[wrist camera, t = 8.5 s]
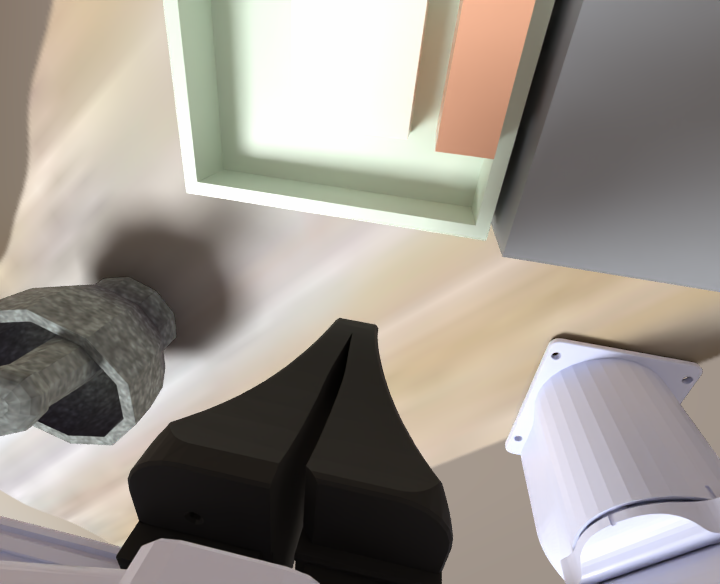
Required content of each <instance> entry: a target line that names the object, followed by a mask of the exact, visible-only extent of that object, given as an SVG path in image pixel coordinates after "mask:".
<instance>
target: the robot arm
mask: <svg viewBox="0 0 720 584" xmlns="http://www.w3.org/2000/svg"><path fill="white" fill-rule="evenodd" d="M377 335H378V327H377V326H376V325H374V324H369V323H364V322H358V321H353V320H347V319H342V318H339V319H337V320H336V321H335V322H334V323H333V324H332V325H331V327H330V328H329V329H328V330H327V331H326V332H325V333H324V334H323V335H322V336H321V337H320V338H319V339H318V340H317V341H316V342H315V343H314V344H312V345H311V346H310V347H309V348H308V349H307V350H306V351H305V352H304V353H302V354H301V355H300V356H299V357H297V358H296V359H295V360H294V361H292V362H291V363H290V364H289V365H287V366H286V367H285V368H283V369H282V370H281V371H279V372H278V373H276V374H275V375H273V376H272V377H270V378H269V379H267V380H266V381H264V382H262V383H261V384H259V385H257V386H255V387H254V388H252V389H250V390H248V391H247V392H245V393H243V394H241V395H239V396H237V397H235V398H233V399H231V400H228V401H226V402H224V403H222V404H219V405H217V406H215V407H212V408H210V409H207V410H205V411H202V412H199V413H196V414H193V415H191V416H188V417H185V418H182V419H179V420H176V421H173V422H170V423H169V425H168V426H167V427H166V428H165V429H164V430H163V431H162V432H161V433H160V434H159V435H158V436H157V438H156V439H155V440H154V441H153V442H152V443H151V445H150V446H149V447H148V449H147V450H146V451H145V453H144V454H143V455H142V457H141V458H140V459H139V460H138V462H137V463H136V464H135V466H134V467H133V468H132V470H131V471H130V474H129V477H128V484H129V491H130V494H131V497H132V500H133V503H134V506H135V509H136V512H137V516H138V519H139V522H138V523H137V525H136V526H135V528H134V529H133V531H132V532H131V534H130V536H129V537H128V539H127V540H126V542H125V543H124V545H123V546H122V547H119V546H115V545H111V544H107V543H103V542H99V541H95V540H92V539H88V538H84V537H80V536H76V535H72V534H69V533H65V532H60V531H57V530H53V529H49V528H45V527H41V526H37V525H33V524H29V523H25V522H22V521H18V520H14V519H10V518H6V517H2V516H0V584H442V570H443V567H444V565H445V562H446V560H447V558H448V555H449V553H450V550H451V547H452V541H453V533H452V524H451V518H450V512H449V508H448V504H447V500H446V496H445V492H444V489H443V486H442V483H441V481H440V480H439V479H438V477H437V476H436V475H435V474H434V472H433V471H432V469H431V468H430V467H429V465H428V464H427V462H426V461H425V459H424V458H423V456H422V455H421V453H420V452H419V450H418V449H417V447H416V445H415V444H414V442H413V440H412V438H411V437H410V435H409V433H408V431H407V429H406V428H405V426H404V424H403V422H402V420H401V418H400V416H399V414H398V411H397V409H396V407H395V405H394V402H393V400H392V397H391V395H390V392H389V389H388V386H387V383H386V380H385V376H384V373H383V369H382V365H381V360H380V355H379V349H378V339H377ZM555 352H558V353H559V354H557V355H552V354H553V353H555ZM702 372H703V371H702V368H700V366H699V365H698V364H697V363H694V362H689V361H684V360H678V359H673V358H667V357H661V356H656V355H650V354H645V353H639V352H634V351H628V350H623V349H617V348H612V347H606V346H600V345H595V344H589V343H584V342H578V341H573V340H567V339H562V338H556V339H553V340H552V341H550V343H549V344H548V347H547V349H546V351H545V353H544V356H543V358H542V360H541V363H540V365H539V367H538V369H537V372H536V374H535V376H534V379H533V381H532V383H531V385H530V388H529V390H528V392H527V395H526V397H525V399H524V401H523V404H522V406H521V408H520V411H519V413H518V415H517V417H516V420H515V422H514V424H513V427H512V429H511V431H510V433H509V436H508V438H507V440H506V443H505V446H506V450H507V451H508V452H510V453H514V454H519V455H521V459H522V464H523V468H524V473H525V478H526V483H527V487H528V492H529V497H530V502H531V506H532V511H533V516H534V520H535V525H536V530H537V535H538V538H539V541H540V544H541V546H542V549H543V550H544V553H545V554H546V556H547V557H548V559H549V561H550V562H551V564H552V565H553V567H554V568H555V569H556V571H557V572H558V573H559V574H560V575H561V577H562V578H563V579H564V580H565V584H720V459H719V457H718V456H717V455H716V453H715V452H714V450H713V449H712V447H711V446H710V445H709V443H708V442H707V441H706V439H705V438H704V436H703V435H702V434H701V432H700V431H699V429H698V428H697V427H696V425H695V424H694V423H693V421H692V420H691V418H690V417H689V416H688V414H687V413H686V411H685V410H684V409H683V408H682V406H681V402H682V401H683V399H684V398H685V397H686V396H687V394H688V393H689V391H690V390H691V388H692V387H693V386H694V384H695V383H696V382H697V380H698V379H699V378H700V376H701V374H702ZM685 377H687V378H686V379H683V378H685ZM516 436H519V437H516ZM294 560H295V561H296V564H295V570H294V569H292V568H293V564H294Z"/></svg>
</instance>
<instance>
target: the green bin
mask: <svg viewBox="0 0 720 584" xmlns="http://www.w3.org/2000/svg"><path fill="white" fill-rule="evenodd" d="M459 2H460V0H430V1H429V8H428V15H427V22H426V29H425V35H424V42H423V49H422V56H421V63H420V70H419V76H418V83H417V90H416V97H415V104H414V111H413V117H412V124H411V131H410V135H409V137H408V139H407V140H405V139H397V138H389V137H381V136H373V135H365V134H357V133H349V132H341V131H333V130H325V129H317V128H309V127H301V126H293V125H291V10H292V0H163V6H164V15H165V23H166V31H167V39H168V47H169V55H170V63H171V71H172V80H173V88H174V96H175V104H176V112H177V120H178V128H179V136H180V145H181V153H182V161H183V169H184V177H185V185H186V193H191V194H197V195H203V196H210V197H216V198H222V199H228V200H235V201H241V202H247V203H253V204H260V205H266V206H272V207H278V208H285V209H291V210H297V211H303V212H310V213H316V214H322V215H328V216H335V217H341V218H347V219H353V220H360V221H366V222H372V223H378V224H385V225H391V226H397V227H404V228H410V229H416V230H422V231H429V232H435V233H441V234H447V235H454V236H460V237H466V238H472V239H479V240H485V241H486V239H487V236H488V232H489V229H490V225H491V222H492V218H493V215H494V211H495V208H496V204H497V201H498V198H499V194H500V191H501V187H502V184H503V180H504V177H505V173H506V170H507V166H508V163H509V159H510V156H511V152H512V149H513V145H514V142H515V138H516V135H517V131H518V128H519V124H520V121H521V117H522V114H523V110H524V107H525V103H526V100H527V96H528V93H529V89H530V86H531V82H532V79H533V75H534V72H535V69H536V65H537V62H538V58H539V55H540V51H541V48H542V44H543V41H544V37H545V34H546V30H547V27H548V23H549V20H550V16H551V13H552V9H553V6H554V2H555V0H536V1H535V5H534V8H533V12H532V16H531V20H530V24H529V28H528V31H527V35H526V39H525V43H524V47H523V50H522V54H521V58H520V62H519V66H518V70H517V73H516V77H515V81H514V85H513V89H512V92H511V96H510V100H509V104H508V108H507V112H506V115H505V119H504V123H503V127H502V131H501V135H500V138H499V142H498V146H497V150H496V154H495V157H494V159H488V158H480V157H473V156H465V155H458V154H451V153H443V152H436V151H435V141H436V128H437V123H438V117H439V112H440V106H441V101H442V95H443V90H444V84H445V79H446V73H447V68H448V63H449V57H450V52H451V46H452V41H453V35H454V30H455V24H456V19H457V13H458V8H459Z"/></svg>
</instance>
